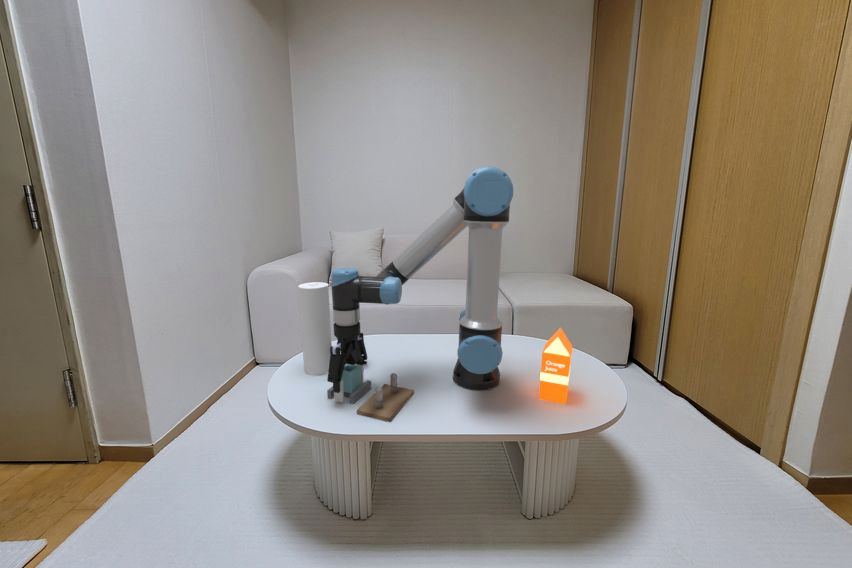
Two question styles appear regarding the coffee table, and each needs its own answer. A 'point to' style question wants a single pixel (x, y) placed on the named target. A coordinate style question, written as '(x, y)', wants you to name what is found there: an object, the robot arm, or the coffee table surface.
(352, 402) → the feeder rails
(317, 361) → the cylinder container
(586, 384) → the coffee table surface
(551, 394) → the orange juice
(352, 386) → the sleeve
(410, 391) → the pin board
